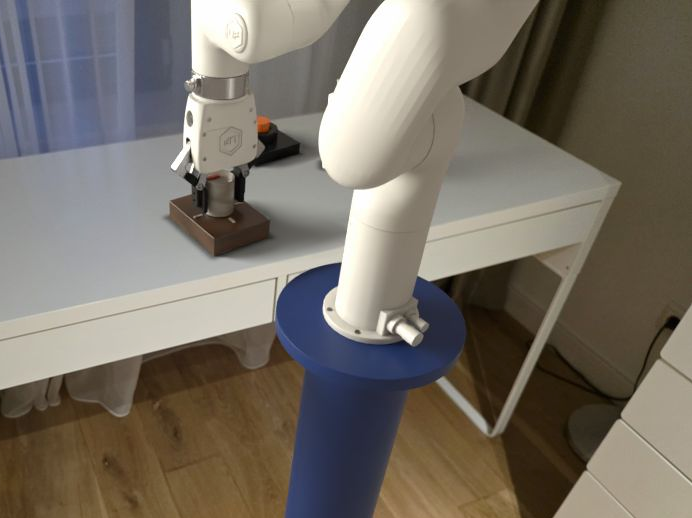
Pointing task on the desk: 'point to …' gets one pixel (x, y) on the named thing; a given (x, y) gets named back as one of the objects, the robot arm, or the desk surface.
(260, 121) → the button
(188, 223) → the panel
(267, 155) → the button box
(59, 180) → the desk surface
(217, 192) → the knob
